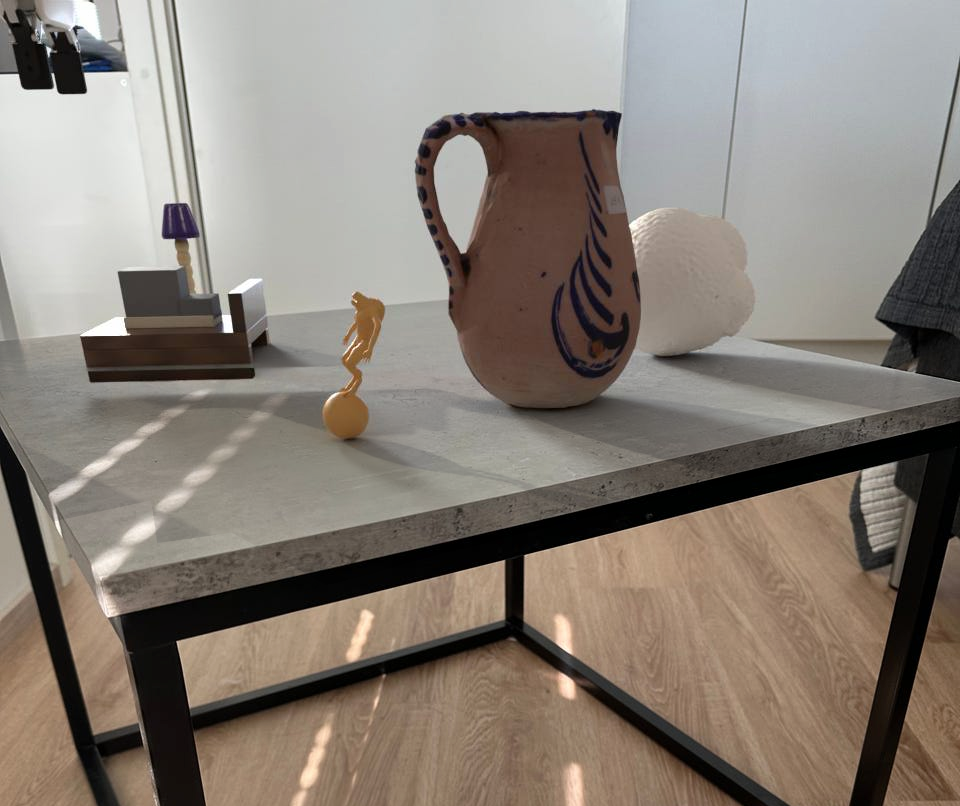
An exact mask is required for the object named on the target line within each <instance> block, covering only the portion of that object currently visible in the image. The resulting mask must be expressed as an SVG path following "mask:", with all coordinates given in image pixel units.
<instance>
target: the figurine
mask: <svg viewBox="0 0 960 806" xmlns="http://www.w3.org/2000/svg"><path fill="white" fill-rule="evenodd" d="M351 297H352V299H351V301H350V303H351V306H352V307H354V308H355V313H354V317H353V318H354V322H353V323H352V324H351V326H350V327H349V329H348V331H347V333H346V335H345V336H344V337H343V339H342V343H341V346H347V345H348V343H349V340H350V339H351V336H352V335H353V333H354V332H355V331H356V336H355V337H354V340H353V341H352V343H351V345H349V347H348V348H347V349H346V351H345V352H344V353H343V354H342V356H341V359H340V360H341V363H342V365H343V366H344V367H345V368H346V370H347V371H348V372H349V373H350V374H351V375H352V378H351V379H350V380H349V382H348V383H347V385H346V386H344V387H342V388H340V389H339V390H338V392H336V393H334V394H332V395H331V396H330V397H328V398H327V400H326V401H325V402H324V405H323V408H322V420H323V423H324V426H325V427H326V429H327V430H328V431H329V432H330V433H331V434H332V435H333V436H335V437H337V438H340V439H346V440H347V439H353V438H357V437H358V436H359V435H361V434H362V433H363V432H364V431H365V430H366V428H367V426H368V424H369V421H370V412H369V407H368V405H367V403H366V401H365V400H364V399H363V398H362V397H361V396H360V395H358V394H357V391H358V389H359V388H360V386H361V384H362V382H363V371H362V370H361V369H360V368H358V367H357V365H358V364H360V362H361V361H362V363H363V362H364V364H366V363H367V364H370V361H371V359H372V355H373V350H374V347H375V345H376V342H377V340H378V338H379V335H380V333H381V330H382V322H383V320H384V318H385V313H386V306H385V304H384V302H383V301H382V300H380V299H378V298H375V297H374V298H373V297H367V296H366V295H364V294H362V293H361V292H360V291H355V292H353V294H352V295H351Z"/></svg>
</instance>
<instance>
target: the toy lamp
mask: <svg viewBox="0 0 960 806" xmlns="http://www.w3.org/2000/svg"><path fill="white" fill-rule="evenodd" d="M162 209H163V210H162V221H161V222H162V223H161V238H162V239H163V240H174V248H175V251H176V261H177V263H178V266H185V267H186V273H187V280H188V286H189V293H190V294H197V292H196V289H195V288H196V283H195V279H194V277H193V275H194V272H193V271H194V270H193V267H192V265H191V263H192V257H191V254H190V252H189V250H190V243H189V240H188V239H199V238H200V235H201V234H200V231H199V228H198V225H197V222H196V219H195V218H194V214H193V213H192V210H191V208H190V206H189V204H188V203H187V202H171V203H169V202H167V203H164V204H163V208H162Z"/></svg>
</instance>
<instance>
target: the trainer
mask: <svg viewBox="0 0 960 806" xmlns="http://www.w3.org/2000/svg"><path fill="white" fill-rule="evenodd" d="M117 277H118V281H119V288H120V294H121V298H122V304H123V309H124V314H125V316H124V318H123V321H124V326H125V329H138V328H185V327H215V326H216V325H217V324H219V323H220V322H221V321H222V320H223V317H222V315H223V312H222V307H221V301H220V294H219V293H216V292H215V293H196V294H190V293H189V286H188V280H187V273H186V267H185V266H179V265H164V266H163V265H161V266H159V265H158V266H157V265H156V266H155V265H154V266H128V267H125V268H123V269H119V270H118V271H117Z"/></svg>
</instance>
